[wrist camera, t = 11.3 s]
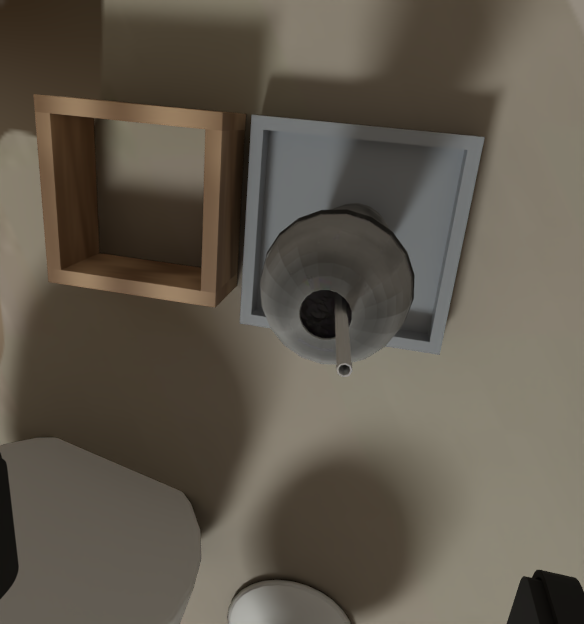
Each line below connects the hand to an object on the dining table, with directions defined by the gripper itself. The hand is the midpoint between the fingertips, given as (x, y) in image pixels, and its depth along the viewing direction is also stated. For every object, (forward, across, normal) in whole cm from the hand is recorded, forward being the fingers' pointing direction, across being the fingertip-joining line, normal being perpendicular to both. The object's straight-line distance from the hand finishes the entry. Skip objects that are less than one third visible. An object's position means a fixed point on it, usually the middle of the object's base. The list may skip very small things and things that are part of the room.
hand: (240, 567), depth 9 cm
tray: (+29, +1, 0) cm, 29 cm away
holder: (+29, +15, -2) cm, 33 cm away
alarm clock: (+29, +20, +26) cm, 44 cm away
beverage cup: (+28, +1, 0) cm, 28 cm away
